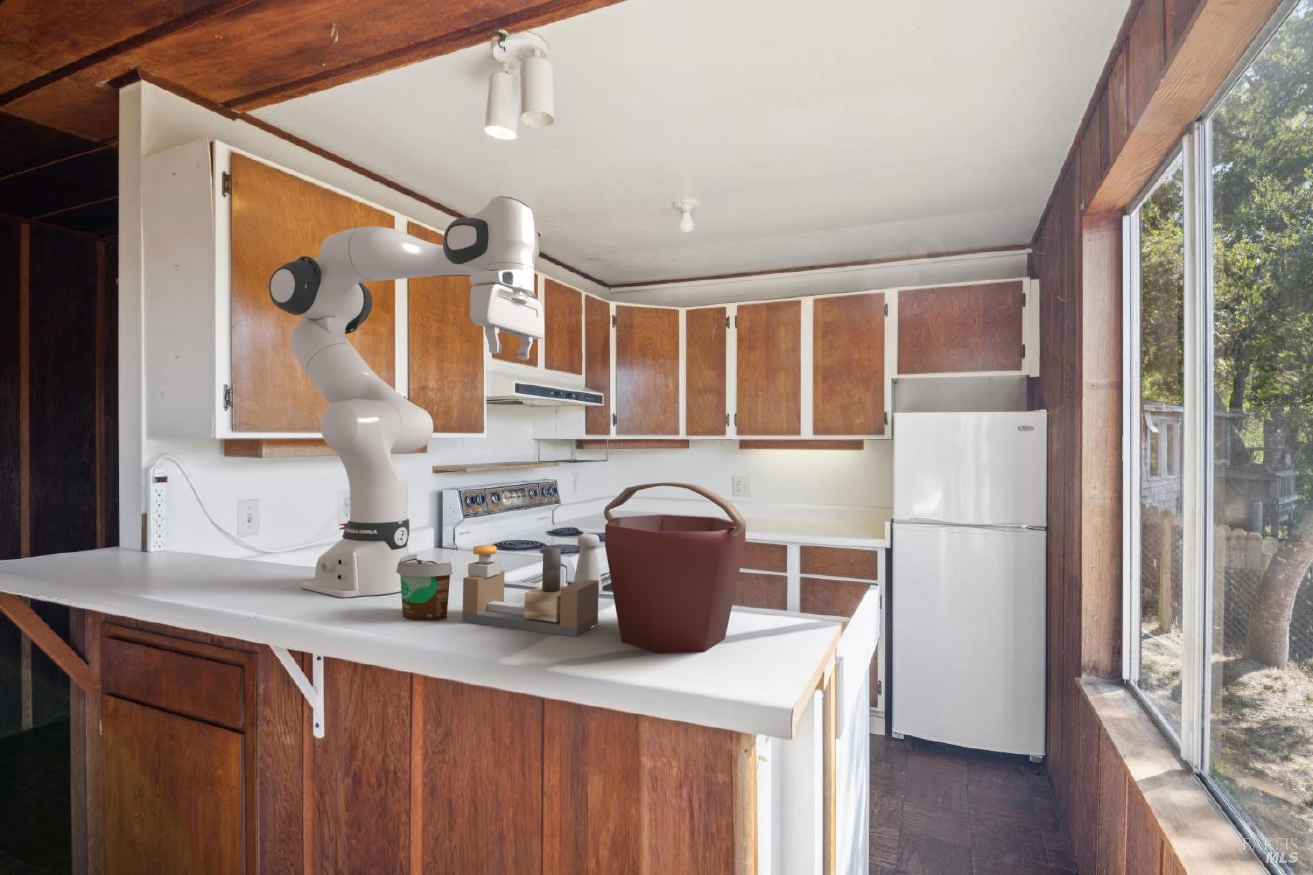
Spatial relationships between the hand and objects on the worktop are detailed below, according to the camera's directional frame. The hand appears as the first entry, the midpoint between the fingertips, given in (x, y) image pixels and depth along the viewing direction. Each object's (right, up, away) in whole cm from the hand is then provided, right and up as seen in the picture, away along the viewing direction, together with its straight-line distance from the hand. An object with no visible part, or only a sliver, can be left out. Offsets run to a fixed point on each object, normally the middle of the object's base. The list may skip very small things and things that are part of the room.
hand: (509, 356), depth 124 cm
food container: (-14, -47, -10) cm, 50 cm away
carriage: (+10, -46, -14) cm, 49 cm away
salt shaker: (+14, -48, +4) cm, 50 cm away
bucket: (+31, -48, -18) cm, 60 cm away
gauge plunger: (-2, -38, -9) cm, 39 cm away
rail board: (+6, -48, -12) cm, 49 cm away
